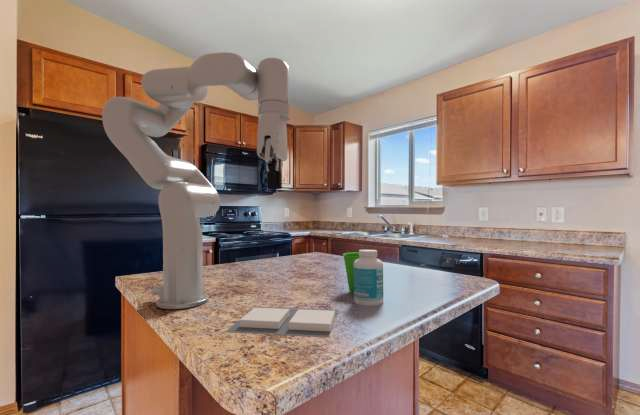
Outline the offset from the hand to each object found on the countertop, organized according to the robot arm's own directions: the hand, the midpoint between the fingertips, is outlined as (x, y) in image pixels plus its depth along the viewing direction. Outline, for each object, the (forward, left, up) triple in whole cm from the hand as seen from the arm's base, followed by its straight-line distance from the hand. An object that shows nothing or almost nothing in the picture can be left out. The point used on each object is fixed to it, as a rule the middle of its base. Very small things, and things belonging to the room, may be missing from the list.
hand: (274, 188), depth 75 cm
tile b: (+11, -6, -28) cm, 30 cm away
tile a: (+1, -6, -28) cm, 28 cm away
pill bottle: (+22, +8, -29) cm, 38 cm away
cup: (+19, +19, -29) cm, 40 cm away
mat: (+5, -8, -29) cm, 31 cm away
